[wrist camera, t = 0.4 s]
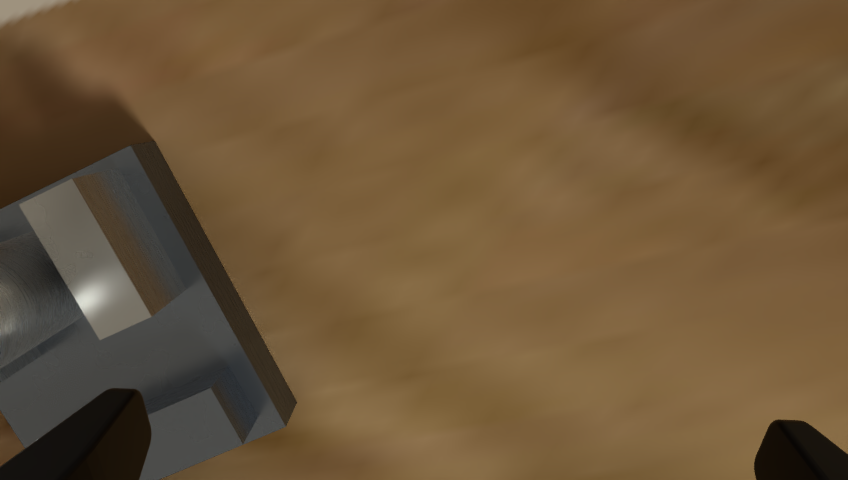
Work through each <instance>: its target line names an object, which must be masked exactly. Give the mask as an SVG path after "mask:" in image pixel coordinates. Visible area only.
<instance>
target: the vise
mask: <svg viewBox="0 0 848 480" xmlns="http://www.w3.org/2000/svg"><path fill="white" fill-rule="evenodd" d="M32 231H35V233H36V235H37V236H38V238H39V240H40V241H41V243H42V245H43V246H44V248H45V250H46V251H47V253H48V255H49V256H50V258H51V260H52V261H53V263H54V265H55V266H56V268H57V270H58V271H59V273H60V275H61V276H62V278H63V280H64V281H65V283H66V285H67V286H68V288H69V290H70V291H71V293H72V295H73V296H74V298H75V300H76V301H77V303H78V305H79V306H80V308H81V310H82V311H83V313H84V315H85V316H83V317H81V318H80V319H78V320H77V321H75V322H74V323H72V324H70V325H69V326H67V327H66V328H64V329H62V330H61V331H59V332H58V333H56V334H55V335H53V336H51V337H50V338H48V339H47V340H45V341H43V342H42V343H40V344H39V345H37V346H36V347H34V348H32V349H31V350H29V351H28V352H26V353H24V354H23V355H21V356H20V357H18V358H17V359H15V360H13V361H12V362H10V363H9V364H7V365H6V366H4V367H2V368H1V369H0V411H1V412H2V414H3V415H4V417H5V418H6V420H7V421H8V423H9V424H10V426H11V427H12V429H13V431H14V432H15V434H16V435H17V437H18V438H19V440H20V441H21V443H22V444H23V446H24V447H25V448H27V447H28V446H29V445H31V444H32V443H34V442H35V441H36V440H38V439H39V438H40V437H42V436H43V435H45V434H46V433H47V432H49V431H50V430H51V429H53V428H54V427H56V426H57V425H58V424H60V423H61V422H63V421H64V420H65V419H67V418H68V417H69V416H71V415H72V414H74V413H75V412H76V411H78V410H79V409H80V408H82V407H83V406H85V405H86V404H87V403H89V402H90V401H91V400H93V399H94V398H96V397H97V396H98V395H100V394H101V393H103V392H104V391H106V390H108V389H110V388H130V389H137V390H139V391H140V392H141V394H142V396H143V400H144V403H145V407H146V411H147V414H148V418H149V422H150V425H151V432H152V435H151V443H150V447H149V450H148V453H147V456H146V460H145V463H144V466H143V469H142V472H141V476H140V479H139V480H159V479H162V478H164V477H167V476H169V475H171V474H174V473H176V472H179V471H181V470H183V469H186V468H188V467H190V466H193V465H195V464H198V463H200V462H202V461H205V460H207V459H210V458H212V457H214V456H217V455H219V454H222V453H224V452H226V451H229V450H231V449H234V448H236V447H238V446H241V445H243V444H246V443H248V442H250V441H253V440H255V439H257V438H260V437H262V436H265V435H267V434H269V433H272V432H274V431H277V430H279V429H281V428H284V427H286V425H287V423H288V421H289V419H290V416H291V414H292V412H293V410H294V408H295V406H296V404H297V402H296V400H295V398H294V396H293V395H292V393H291V391H290V389H289V387H288V385H287V384H286V382H285V380H284V378H283V376H282V374H281V373H280V371H279V369H278V367H277V365H276V363H275V362H274V360H273V358H272V356H271V354H270V352H269V351H268V349H267V347H266V345H265V343H264V341H263V339H262V338H261V336H260V334H259V332H258V330H257V328H256V327H255V325H254V323H253V321H252V319H251V317H250V316H249V314H248V312H247V310H246V308H245V306H244V305H243V303H242V301H241V299H240V297H239V295H238V294H237V292H236V290H235V288H234V286H233V284H232V282H231V281H230V279H229V277H228V275H227V273H226V271H225V270H224V268H223V266H222V264H221V262H220V260H219V259H218V257H217V255H216V253H215V251H214V249H213V248H212V246H211V244H210V242H209V240H208V238H207V237H206V235H205V233H204V231H203V229H202V227H201V225H200V224H199V222H198V220H197V218H196V216H195V214H194V213H193V211H192V209H191V207H190V205H189V203H188V202H187V200H186V198H185V196H184V194H183V192H182V191H181V189H180V187H179V185H178V183H177V181H176V180H175V178H174V176H173V174H172V172H171V170H170V168H169V167H168V165H167V163H166V161H165V159H164V157H163V156H162V154H161V152H160V150H159V148H158V146H157V145H156V143H155V141H152V142H146V143H140V144H135V145H130V146H128V147H126V148H124V149H122V150H120V151H118V152H116V153H114V154H112V155H110V156H108V157H105V158H103V159H101V160H99V161H97V162H95V163H93V164H91V165H89V166H87V167H85V168H83V169H81V170H79V171H77V172H75V173H73V174H71V175H69V176H67V177H65V178H63V179H61V180H59V181H57V182H55V183H53V184H51V185H49V186H46V187H44V188H42V189H40V190H38V191H36V192H34V193H32V194H30V195H28V196H26V197H24V198H22V199H20V200H18V201H16V202H14V203H12V204H10V205H8V206H6V207H4V208H2V209H0V242H3V241H6V240H9V239H12V238H15V237H18V236H21V235H23V234H26V233H29V232H32Z"/></svg>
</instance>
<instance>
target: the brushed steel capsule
mask: <svg viewBox="0 0 848 480" xmlns="http://www.w3.org/2000/svg"><path fill="white" fill-rule="evenodd" d="M83 316H85V315H84V313H83V311H82V310H81V308H80V306H79V305H78V303H77V301H76V300H75V298H74V296H73V295H72V293H71V291H70V290H69V288H68V286H67V285H66V283H65V281H64V280H63V278H62V276H61V275H60V273H59V271H58V270H57V268H56V266H55V265H54V263H53V261H52V260H51V258H50V256H49V255H48V253H47V251H46V250H45V248H44V246H43V245H42V243H41V241H40V240H39V238H38V236H37V235H36V233H35V231H32V232H29V233H26V234H23V235H21V236H18V237H15V238H12V239H9V240H6V241H3V242H0V369H1V368H2V367H4V366H6V365H7V364H9V363H10V362H12V361H13V360H15V359H17V358H18V357H20V356H21V355H23V354H24V353H26V352H28V351H29V350H31V349H32V348H34V347H36V346H37V345H39V344H40V343H42V342H43V341H45V340H47V339H48V338H50V337H51V336H53V335H55V334H56V333H58V332H59V331H61V330H62V329H64V328H66V327H67V326H69V325H70V324H72V323H74V322H75V321H77V320H78V319H80V318H81V317H83Z"/></svg>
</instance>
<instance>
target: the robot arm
mask: <svg viewBox="0 0 848 480" xmlns="http://www.w3.org/2000/svg"><path fill="white" fill-rule="evenodd" d="M151 435H152V432H151V425H150V422H149V418H148V414H147V411H146V407H145V403H144V400H143V396H142V394H141V392H140V391H139V390H137V389H130V388H110V389H108V390H106V391H104V392H103V393H101V394H100V395H98V396H97V397H96V398H94V399H93V400H91V401H90V402H89V403H87V404H86V405H85V406H83V407H82V408H80V409H79V410H78V411H76V412H75V413H74V414H72V415H71V416H69V417H68V418H67V419H65V420H64V421H63V422H61V423H60V424H58V425H57V426H56V427H54V428H53V429H51V430H50V431H49V432H47V433H46V434H45V435H43V436H42V437H40V438H39V439H38V440H36V441H35V442H34V443H32V444H31V445H29V446H28V447H27V448H25V449H24V450H23V451H21V452H20V453H18V454H17V455H16V456H14V457H13V458H11V459H10V460H9V461H7V462H6V463H5V464H3V465H2V466H0V480H139V479H140V476H141V472H142V469H143V466H144V463H145V460H146V456H147V453H148V450H149V447H150V443H151ZM754 470H755V476H756V480H848V454H847V453H845V452H844V451H843V450H842V449H840V448H839V447H838V446H836V445H835V444H834V443H833V442H831V441H830V440H829V439H828V438H826V437H825V436H824V435H822V434H821V433H820V432H819V431H817V430H816V429H815V428H814V427H812V426H811V425H809V424H808V423H806V422H804V421H798V420H775V421H773V422H772V423H771V424H770V425H769V427H768V430H767V432H766V434H765V436H764V439H763V441H762V443H761V446H760V448H759V450H758V452H757V455H756V458H755V462H754Z"/></svg>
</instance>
